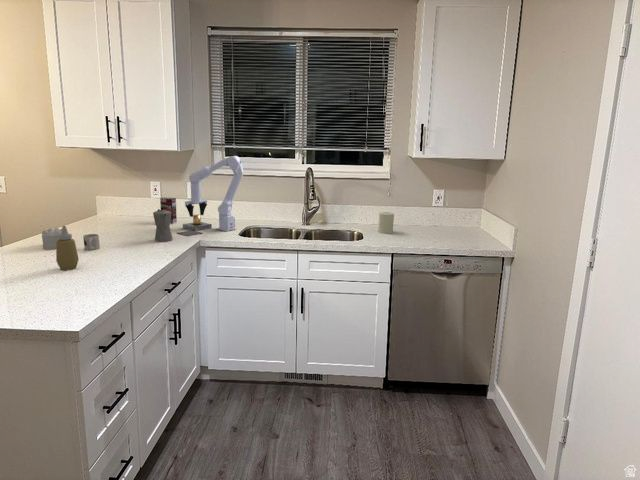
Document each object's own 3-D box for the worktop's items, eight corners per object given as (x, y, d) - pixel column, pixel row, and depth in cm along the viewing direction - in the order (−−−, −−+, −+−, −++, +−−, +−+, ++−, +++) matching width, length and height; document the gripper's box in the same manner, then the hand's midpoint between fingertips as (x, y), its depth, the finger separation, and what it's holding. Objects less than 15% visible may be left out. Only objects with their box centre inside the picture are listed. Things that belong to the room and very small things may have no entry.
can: (392, 230, 278) (393, 211, 276) (393, 233, 269) (394, 214, 267) (377, 230, 279) (378, 211, 276) (378, 233, 270) (379, 213, 268)
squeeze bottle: (74, 264, 191) (70, 223, 187) (82, 268, 186) (78, 226, 182) (53, 268, 185) (49, 225, 181) (62, 272, 180) (57, 228, 176)
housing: (211, 228, 272) (211, 224, 271) (195, 231, 263) (195, 226, 262) (199, 225, 279) (199, 221, 278) (182, 228, 270) (182, 224, 269)
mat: (202, 233, 257) (202, 232, 257) (187, 236, 249) (187, 235, 249) (191, 230, 263) (191, 230, 263) (176, 233, 255) (176, 232, 255)
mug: (85, 247, 220) (84, 234, 218) (100, 246, 222) (99, 233, 221) (82, 252, 211) (81, 238, 209) (98, 251, 213) (97, 238, 211)
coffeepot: (176, 241, 236) (174, 207, 232) (157, 243, 231) (155, 209, 227) (168, 236, 249) (166, 203, 244) (150, 237, 243) (148, 204, 239)
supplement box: (161, 222, 284) (159, 198, 280) (165, 221, 288) (164, 197, 285) (172, 224, 281) (171, 198, 278) (177, 222, 286) (176, 197, 282)
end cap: (202, 228, 271) (202, 215, 269) (196, 229, 268) (196, 216, 266) (198, 227, 274) (197, 214, 272) (192, 228, 270) (191, 215, 269)
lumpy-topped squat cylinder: (43, 250, 212) (41, 232, 210) (42, 244, 223) (40, 227, 221) (68, 248, 218) (66, 230, 216) (66, 242, 228) (64, 226, 226)
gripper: (201, 191, 274) (202, 213, 277) (181, 193, 263) (182, 216, 266) (209, 192, 270) (209, 215, 273) (188, 194, 259) (189, 218, 262)
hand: (196, 215), depth 269 cm, fingers open, 7 cm apart
